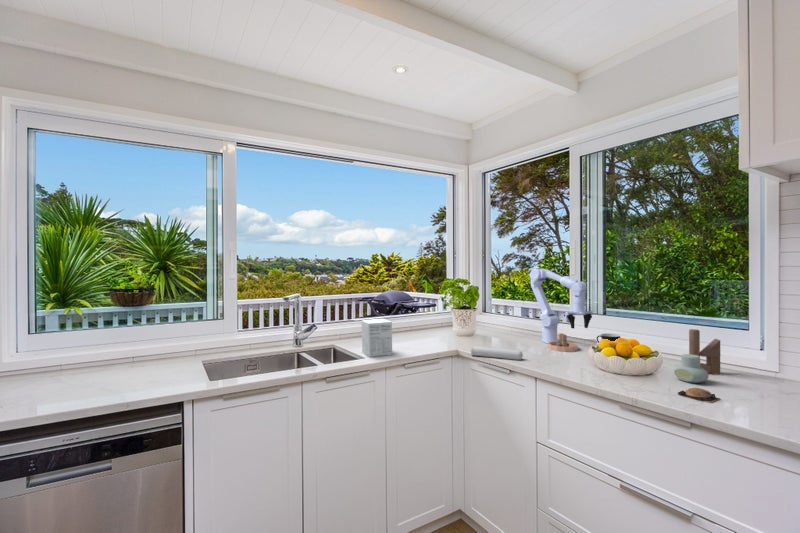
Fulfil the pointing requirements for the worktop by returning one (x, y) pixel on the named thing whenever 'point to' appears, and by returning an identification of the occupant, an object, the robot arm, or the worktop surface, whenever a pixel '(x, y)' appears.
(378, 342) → the supplement box
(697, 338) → the brown wooden sculpture
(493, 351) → the tube
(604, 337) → the coffee mug
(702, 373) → the air freshener
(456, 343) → the worktop surface
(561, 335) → the tan rectangular block
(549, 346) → the candle dish
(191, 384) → the worktop surface
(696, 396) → the brown domed oval piece
